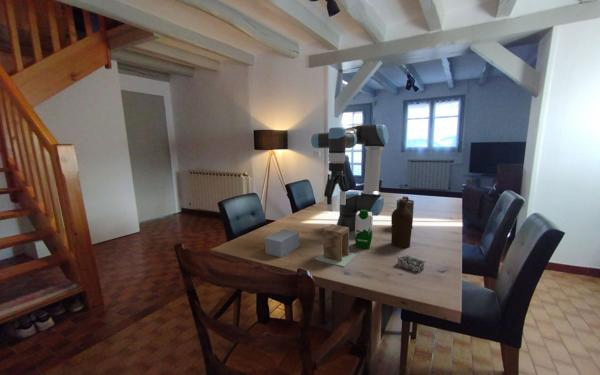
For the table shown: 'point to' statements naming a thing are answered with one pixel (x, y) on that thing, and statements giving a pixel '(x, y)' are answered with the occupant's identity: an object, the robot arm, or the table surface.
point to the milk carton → (363, 229)
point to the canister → (407, 204)
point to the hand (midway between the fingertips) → (336, 207)
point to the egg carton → (413, 262)
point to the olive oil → (401, 225)
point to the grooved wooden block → (336, 242)
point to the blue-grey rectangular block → (282, 242)
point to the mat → (343, 263)
